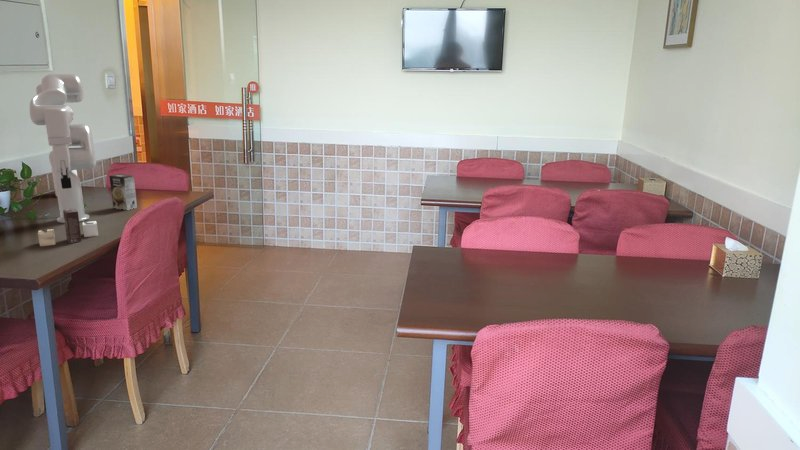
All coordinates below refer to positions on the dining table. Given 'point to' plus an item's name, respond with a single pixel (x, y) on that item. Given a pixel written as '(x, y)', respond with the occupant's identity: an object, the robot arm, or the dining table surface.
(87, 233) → the offwhite digit block
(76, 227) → the box
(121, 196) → the coffee box
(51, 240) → the birch digit block
